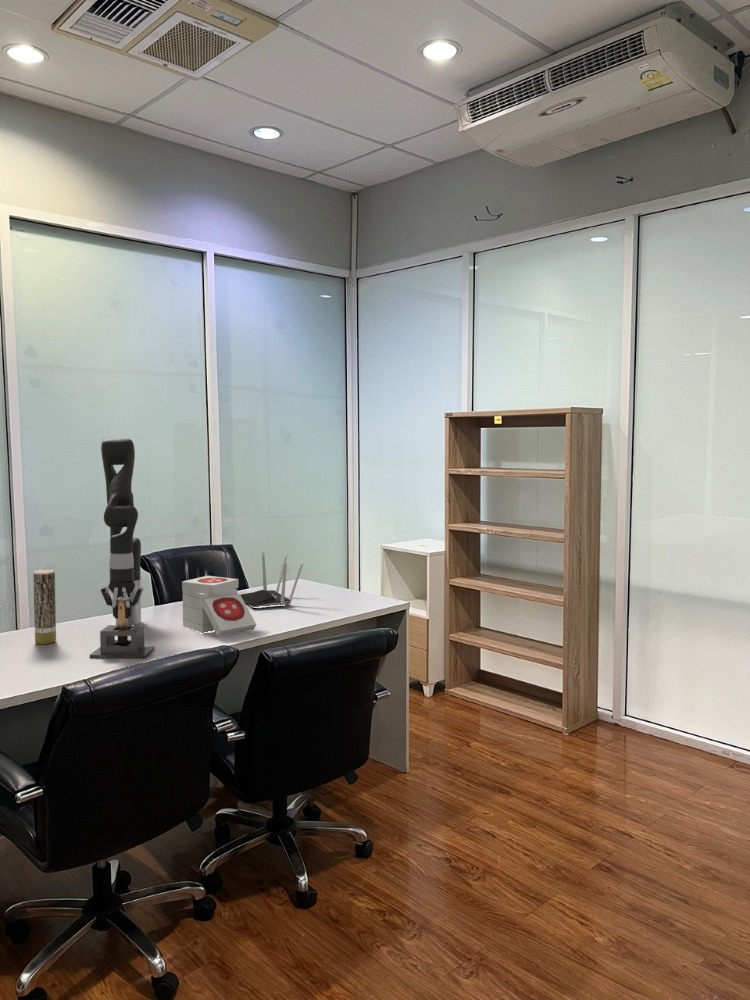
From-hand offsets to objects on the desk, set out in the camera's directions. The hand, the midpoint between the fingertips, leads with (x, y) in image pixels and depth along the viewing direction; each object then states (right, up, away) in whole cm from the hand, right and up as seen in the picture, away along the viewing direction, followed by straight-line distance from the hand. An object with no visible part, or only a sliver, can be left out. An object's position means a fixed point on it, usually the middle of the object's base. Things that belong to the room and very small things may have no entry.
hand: (122, 617), depth 253 cm
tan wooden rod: (0, -8, +1) cm, 8 cm away
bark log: (-31, -11, +14) cm, 36 cm away
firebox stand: (0, -12, +1) cm, 12 cm away
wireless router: (+37, -6, +83) cm, 91 cm away
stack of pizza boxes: (+25, -10, +34) cm, 43 cm away
